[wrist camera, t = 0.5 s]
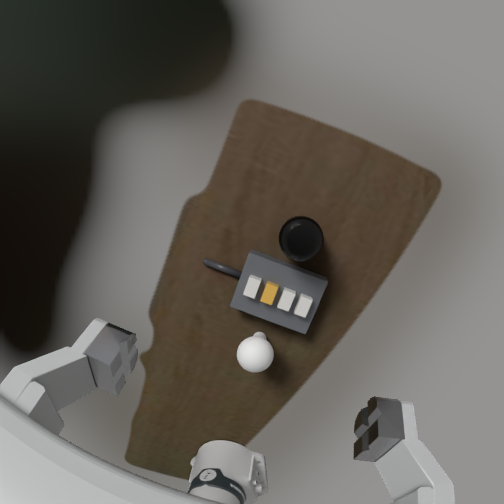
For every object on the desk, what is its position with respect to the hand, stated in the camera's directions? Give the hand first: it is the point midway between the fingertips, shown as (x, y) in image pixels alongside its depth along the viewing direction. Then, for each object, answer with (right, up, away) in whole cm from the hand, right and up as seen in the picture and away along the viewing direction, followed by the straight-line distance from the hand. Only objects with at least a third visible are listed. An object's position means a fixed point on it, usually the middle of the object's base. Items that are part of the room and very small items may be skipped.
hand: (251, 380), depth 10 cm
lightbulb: (+2, -12, +50) cm, 51 cm away
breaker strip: (+1, -1, +48) cm, 48 cm away
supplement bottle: (+8, +7, +47) cm, 48 cm away
